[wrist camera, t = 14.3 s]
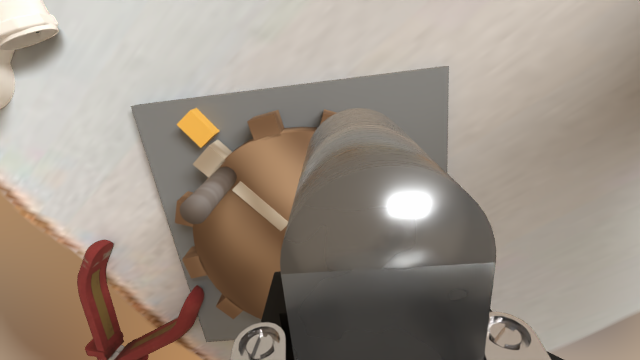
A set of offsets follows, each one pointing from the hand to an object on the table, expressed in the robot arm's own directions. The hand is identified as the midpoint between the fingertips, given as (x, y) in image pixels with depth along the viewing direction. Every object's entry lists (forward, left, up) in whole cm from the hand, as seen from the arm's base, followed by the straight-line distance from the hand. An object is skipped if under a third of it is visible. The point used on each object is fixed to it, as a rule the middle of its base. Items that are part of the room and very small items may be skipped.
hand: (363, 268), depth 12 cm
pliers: (+24, +15, -15) cm, 32 cm away
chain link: (0, 0, 0) cm, 0 cm away
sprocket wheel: (+4, +6, -15) cm, 17 cm away
